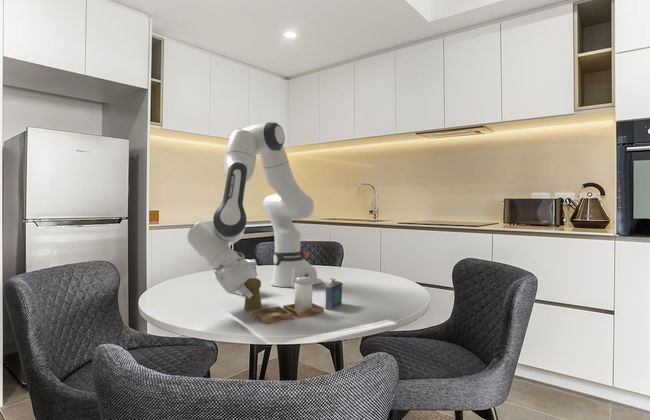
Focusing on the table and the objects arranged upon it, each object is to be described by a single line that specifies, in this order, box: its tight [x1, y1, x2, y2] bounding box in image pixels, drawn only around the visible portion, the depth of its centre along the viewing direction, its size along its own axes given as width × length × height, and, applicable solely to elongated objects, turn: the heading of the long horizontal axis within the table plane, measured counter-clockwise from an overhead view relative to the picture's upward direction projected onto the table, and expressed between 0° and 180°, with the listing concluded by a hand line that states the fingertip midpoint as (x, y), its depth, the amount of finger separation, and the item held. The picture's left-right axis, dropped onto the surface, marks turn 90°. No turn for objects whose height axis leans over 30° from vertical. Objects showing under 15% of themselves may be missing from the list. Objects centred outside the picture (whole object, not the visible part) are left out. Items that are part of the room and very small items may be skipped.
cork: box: [243, 277, 263, 312], centre depth 129 cm, size 6×6×11 cm
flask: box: [324, 277, 343, 311], centre depth 133 cm, size 9×3×11 cm, turn 151°
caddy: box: [250, 302, 326, 325], centre depth 124 cm, size 20×11×3 cm, turn 123°
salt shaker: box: [294, 276, 313, 312], centre depth 126 cm, size 6×6×11 cm
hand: (254, 294), depth 129 cm, fingers closed on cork, 4 cm apart
